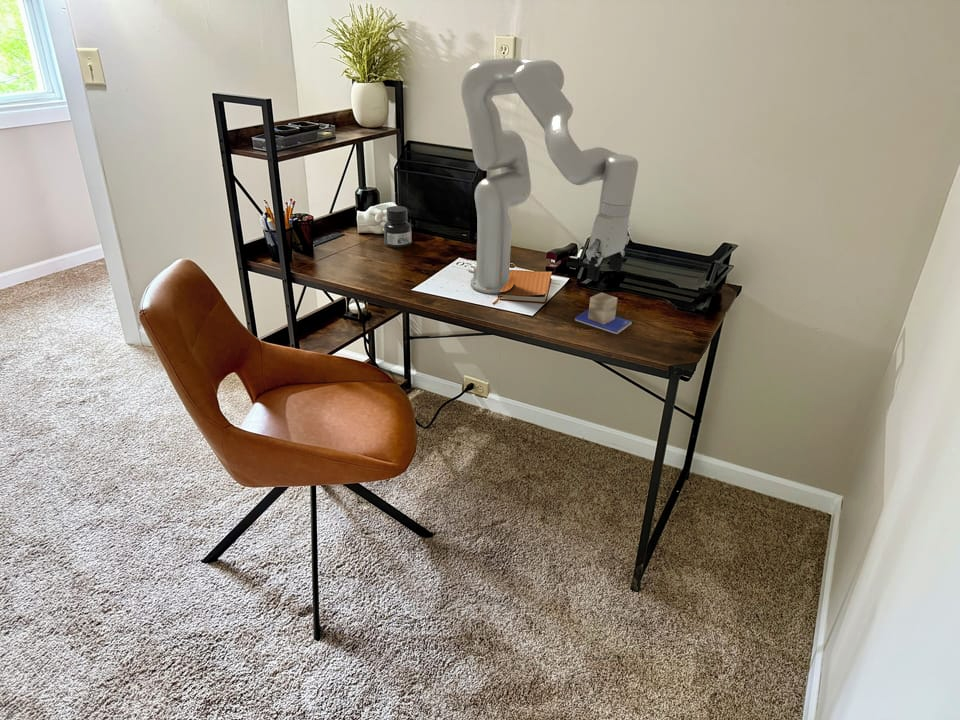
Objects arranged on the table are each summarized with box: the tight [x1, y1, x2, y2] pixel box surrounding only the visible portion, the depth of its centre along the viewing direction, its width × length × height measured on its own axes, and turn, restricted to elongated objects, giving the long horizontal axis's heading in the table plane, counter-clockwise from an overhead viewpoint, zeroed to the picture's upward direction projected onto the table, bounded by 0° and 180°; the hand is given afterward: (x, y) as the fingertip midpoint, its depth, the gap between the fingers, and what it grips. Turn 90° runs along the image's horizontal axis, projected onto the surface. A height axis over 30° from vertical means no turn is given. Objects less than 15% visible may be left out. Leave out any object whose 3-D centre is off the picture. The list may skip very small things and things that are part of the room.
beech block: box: [588, 292, 618, 325], centre depth 173 cm, size 5×5×6 cm
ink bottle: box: [383, 205, 412, 249], centre depth 221 cm, size 10×9×12 cm
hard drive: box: [574, 308, 633, 335], centre depth 175 cm, size 2×8×12 cm
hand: (603, 274), depth 169 cm, fingers open, 9 cm apart
